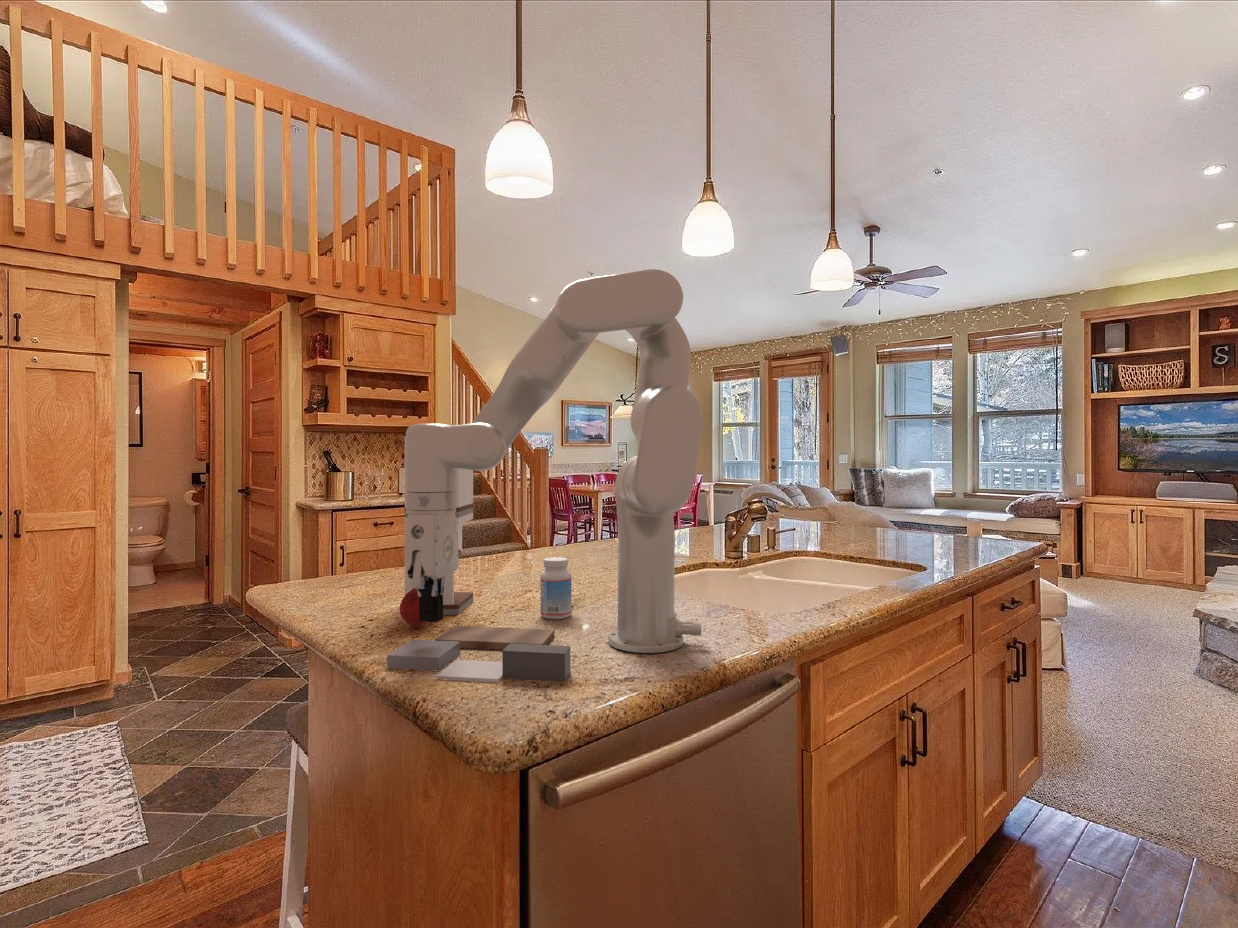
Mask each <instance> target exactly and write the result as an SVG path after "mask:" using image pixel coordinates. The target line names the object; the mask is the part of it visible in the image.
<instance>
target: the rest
mask: <svg viewBox="0 0 1238 928" xmlns="http://www.w3.org/2000/svg"><path fill="white" fill-rule="evenodd" d="M554 638H555V629H548V628H547V629H546V628H545V629H544V628H541V629H540V628H522V627H521V628H520V627H518V628H517V627H501V626H500V627H497V626H496V627H495V626H474V625H473V626H470V625H454V626H452V627H451V628H449V629H448V630H447V631H445V632H443V633H442V634H440V635H439V636H438V637H436V638H435V639H434V640H435V641H459V642H460V649H477V650H498V651H500V650H501V651H503V650H504V649H505V648H506V647H507V646H508V645H509V644H510V643H513V644H535V645H550V643H551V642H552V640H553V639H554Z"/></svg>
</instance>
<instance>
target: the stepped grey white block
mask: <svg viewBox="0 0 1238 928" xmlns="http://www.w3.org/2000/svg"><path fill="white" fill-rule="evenodd" d="M570 674H571V645H555V644H548V645H535V644H513V643H510V644H509V645H508V646H507V647H506V648H505V649H504V650H502V661H487V660H485V661H484V660H470V659H469V660H468V659H465V660H464V659H454V661H452V662H450V663H449V665H448V666H447V667H446V668H445V667H444V669H442V670H441V671H440V672H438V674H437V675H436V679H447V680H446V681H455V680H456V682H477V683H496V684H499V683H500V682H501V680H502V679H508V680H524V681H525V680H526V681H527V680H528V681H541V682H542V681H544V682H545V681H546V682H559V683H560V682H561V683H565V682H566V681H567V679H568V677H569V676H570Z"/></svg>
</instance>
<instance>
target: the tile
mask: <svg viewBox="0 0 1238 928" xmlns="http://www.w3.org/2000/svg"><path fill="white" fill-rule="evenodd" d="M459 654H460V655H461V648H460V642H459V641H435V639H434V640H431V639H411V640H410V641H408V642H406V643H404V644H403V645H401V646H400V647H399V648H397V649H395V650H394V651H392V652H391V653H388V654H387V661H386V662H387V664H386V665H387V669H391V670H392V669H394V670H395V669H397V670H410V669H422V670H421V671H429V670H440V669H441V670H443V667H444V666H445V665H446V666H447V665H448V663H449V662H450V661H451V662H453V659H454V658H455V657H456V658H457V657H458V656H460V655H459ZM456 658H455V659H456ZM455 659H454V660H455ZM451 662H450V663H451ZM450 663H449V664H450ZM446 666H445V667H446ZM445 667H444V668H445ZM423 669H424V670H423ZM441 670H440V671H441Z"/></svg>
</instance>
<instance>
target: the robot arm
mask: <svg viewBox="0 0 1238 928" xmlns="http://www.w3.org/2000/svg"><path fill="white" fill-rule="evenodd" d="M683 303H684V291H683V289H682V286H681V284H680V282H679V280H677V278H676V277H675V276H674V275H672V273H670V272H668V271H664V270H661V269H655V268H651V269H649V268H648V269H642V270H636V271H630V272H622V273H616V274H610V275H609V274H608V275H602V276H594V277H589V278H583V279H578V280H576V281H573V282H571V283H569V284H568V285H566V286H565V287H564V288H563V289H562V291H561V292H560V294H559V296H558V297H557V300H556V302H555V303H554V304H553V305H552V307H551V308H550V310H549V311H548V312H547V314H546V315H545V316H544V318H543V319H542V320H541V322H540V323H539V324H538V326H537V327H536V329H534V331H533V333H532V334H531V335H530V336H529V338H528V339H527V340H526V342H525V343H524V344H523V345H522V347H521V348H520V349H519V351H518V352H517V353H516V354H515V355H514V357H513V359H512V360H511V362H510V363H509V365H508V366H507V368H506V369H505V371H504V374H503V376H502V379H501V380H500V382H499V383H498V386H496V389H495V390H494V391H493V393H492V394H491V395H490V398H489V399H488V400H487V402H486V403H485V404H484V406H483V407H482V409H480V411H479V412H478V413H477V415H476V416H475V417H474V419H473V420H472V422H471V423H470V422H469V423H464V424H453V425H449V424H445V423H414V424H411V425H409V426H408V427H407V429H406V431H405V437H406V513H407V514H408V520H407V529H406V543H405V542H404V572H405V571H406V576H407V577H408V578H410V579H413V580H412V588H413V589H418V596H419V620H420V621H421V622H424V623H439V622H440V621H442V620H443V619H444V615H443V592H444V583H445V578H446V577H447V576H448V574H450V573H452V572H454V573H455V571H457V569H458V568H459V565H460V560H459V559H460V557H459V554H458V533H457V523H456V516H455V512H456V468H461V469H469V470H473V471H477V472H485V471H489V470H493V469H495V467H497V466H498V465H500V464H501V462H503V459H504V458H505V455H506V452H507V450H508V449H509V447H510V446H511V445H512V443H514V441H515V440H516V439H517V437H518V436H519V434H520V432H521V431H522V430H523V429H524V427H525V426H526V425H527V424H528V423H529V421H530V420H531V419H532V417H533V416H534V415H535V414H536V413H537V412H538V411H539V410H540V409H541V408H542V407H543V406H545V404H546V403H548V402H549V401H550V399H552V397H553V396H554V394H555V393H556V392H557V391H558V389H559V388H560V387H561V386H562V384H563V383H564V381H565V380H566V379H567V377H568V376H569V374H570V373H571V372H572V371H573V370H574V367H576V365H577V364H578V362H579V361H580V359H581V358H582V357H583V355H584V354H585V353H586V351H587V350H588V349H589V347H590V346H591V345H592V343H593V342H594V341H595V339H597V337H598V336H599V334H601V333H610V332H618V331H624V330H625V331H626V332H627V333H628V334H629V335H630V336H631V337H632V338H633V340H634V341H635V342H636V345H637V347H638V351H639V357H640V358H639V371H638V376H637V377H638V379H637V383H636V389H635V393H634V394H635V395H634V400H633V404H632V408H631V409H632V410H631V414H630V415H631V416H630V428H631V431H632V433H633V435H634V437H636V439H637V440H638V441H639V444H638V451H637V455H635V456H632V457H631V458H629V459H627V460H626V461H624V463H623V464H622V465H621V467H620V468H619V470H618V472H617V475H616V479H615V484H614V485H615V487H614V490H615V491H614V492H615V494H614V495H615V503H616V505H615V506H616V516H617V629H614V630H612V631H611V632H610V633H609V634H608V637H607V640H608V641H607V642H608V644H609V645H610V646H611V647H613V648H615V649H617V650H621V651H625V652H629V653H635V654H636V653H637V654H659V653H666V652H671V651H674V650H677V649H679V648H681V647H682V646H683V644H684V635H688V636H694V637H695V636H699V637H701V636H702V623H695V621H693V620H692V621H690V620H687V621H684V620H682V621H681V619H679V618H677V617H678V615H677V614H678V612H675V563H676V562H675V556H676V555H675V551H676V550H675V549H676V548H675V547H676V546H675V545H676V535H675V534H676V533H675V532H676V531H675V522H674V521H675V520H674V515H673V514H675V513H677V512H678V511H679V510H681V509H682V508H683V507H685V505H686V503H687V502H688V500H689V499H690V496H691V494H692V491H693V486H694V483H695V479H696V477H695V476H696V472H697V467H698V466H697V465H698V459H699V455H700V454H699V453H700V447H701V441H702V434H703V426H704V419H703V418H704V417H703V416H704V415H703V410H702V406H701V404H700V402H699V400H698V398H697V397H696V396H695V395H694V393H693V392H691V390H689V389H688V388H689V379H690V373H691V363H692V362H691V359H692V355H691V353H692V352H691V347H690V345H691V344H690V342H689V339H688V336H687V334H686V333H685V331H684V329H683V327H682V326H681V324H680V322H679V321H678V319H677V318H676V317H677V316H678V315H679V313H680V311H681V310H682V306H683ZM424 574H426V576H424Z"/></svg>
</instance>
